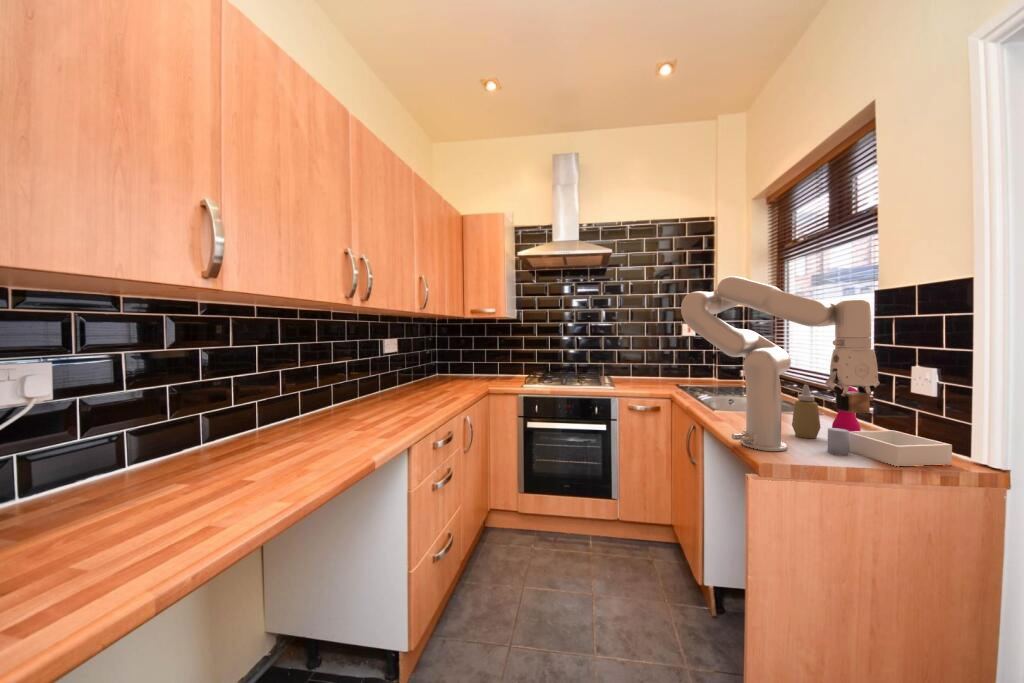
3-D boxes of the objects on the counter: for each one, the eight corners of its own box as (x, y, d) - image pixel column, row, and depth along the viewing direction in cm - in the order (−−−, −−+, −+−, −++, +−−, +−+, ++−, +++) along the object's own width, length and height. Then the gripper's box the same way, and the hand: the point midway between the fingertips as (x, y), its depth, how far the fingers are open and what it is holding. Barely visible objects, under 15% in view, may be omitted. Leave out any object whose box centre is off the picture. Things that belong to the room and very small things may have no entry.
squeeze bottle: (826, 438, 133) (826, 386, 133) (809, 440, 131) (809, 387, 130) (802, 432, 141) (803, 383, 140) (786, 434, 139) (786, 384, 138)
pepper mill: (826, 439, 132) (827, 380, 131) (841, 437, 134) (841, 379, 133) (850, 445, 125) (851, 383, 124) (866, 443, 127) (866, 382, 126)
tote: (897, 467, 105) (897, 446, 105) (845, 449, 121) (845, 431, 121) (951, 465, 106) (952, 444, 106) (892, 447, 122) (892, 430, 121)
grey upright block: (837, 456, 115) (837, 432, 115) (823, 450, 120) (823, 428, 120) (853, 455, 115) (853, 432, 115) (838, 450, 120) (838, 427, 120)
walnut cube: (851, 413, 105) (852, 394, 105) (835, 409, 110) (835, 391, 110) (869, 412, 106) (869, 394, 105) (852, 408, 111) (852, 391, 110)
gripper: (834, 345, 103) (834, 413, 104) (896, 344, 104) (895, 411, 105) (811, 344, 111) (811, 407, 111) (869, 343, 112) (868, 406, 112)
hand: (852, 408), depth 108 cm, fingers closed on walnut cube, 5 cm apart
